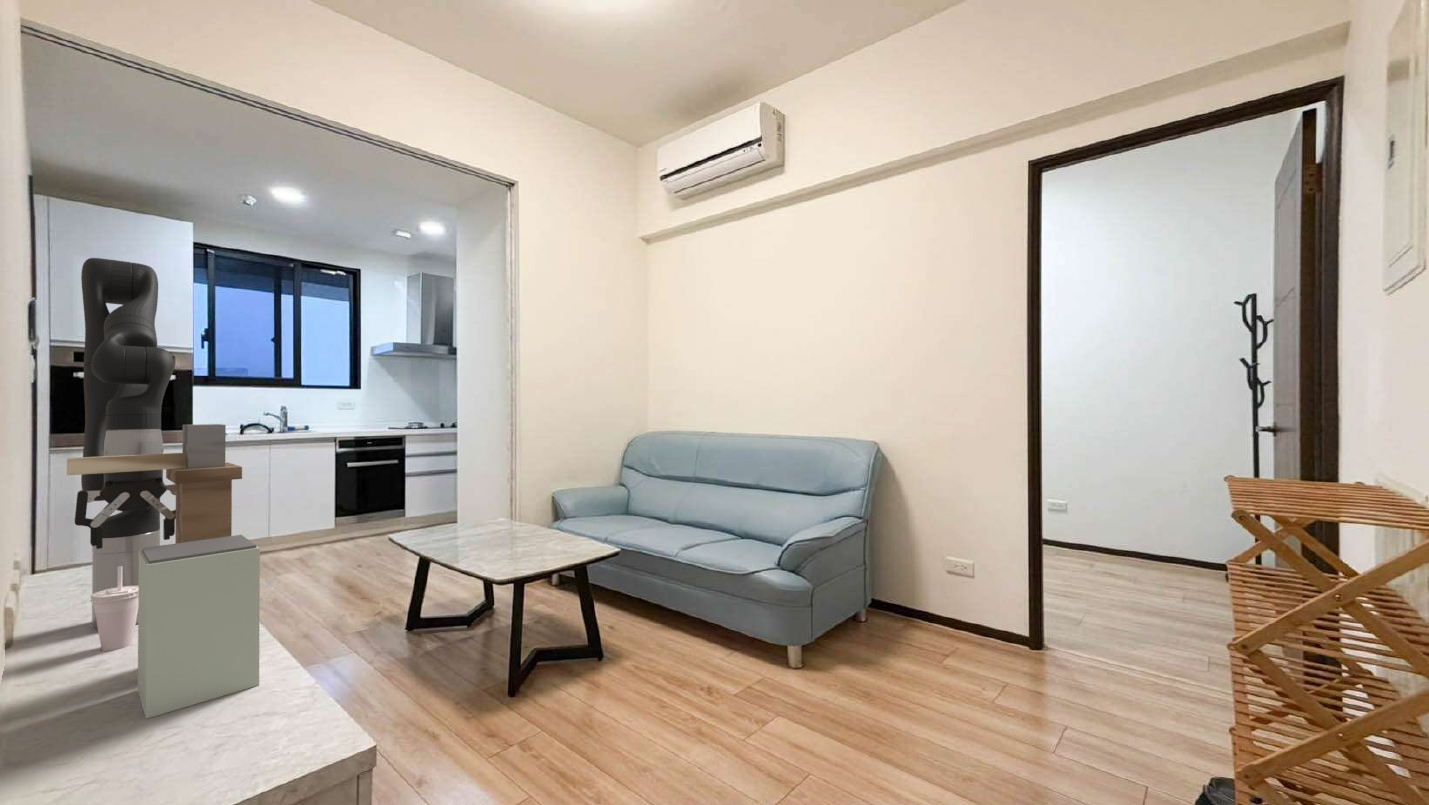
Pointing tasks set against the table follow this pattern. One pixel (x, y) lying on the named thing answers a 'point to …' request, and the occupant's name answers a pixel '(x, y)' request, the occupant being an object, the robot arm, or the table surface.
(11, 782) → the table surface
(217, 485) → the wooden t-shaped stand
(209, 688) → the sage cabinet
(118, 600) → the smoothie
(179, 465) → the hammer
